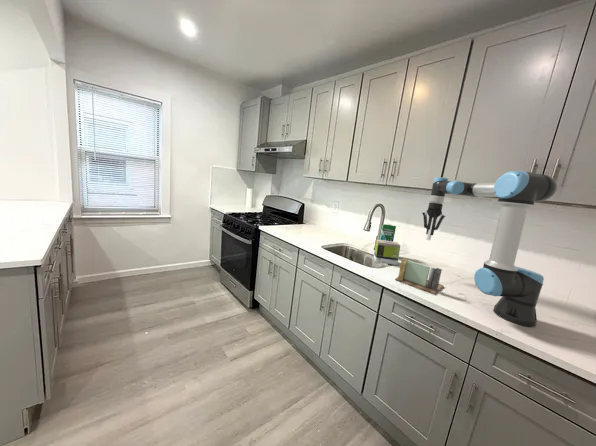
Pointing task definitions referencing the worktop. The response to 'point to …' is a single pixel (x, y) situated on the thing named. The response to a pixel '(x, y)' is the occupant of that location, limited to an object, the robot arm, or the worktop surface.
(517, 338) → the worktop surface
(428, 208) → the robot arm
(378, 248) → the tea box
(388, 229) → the milk carton
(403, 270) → the wooden stand
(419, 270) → the gate
